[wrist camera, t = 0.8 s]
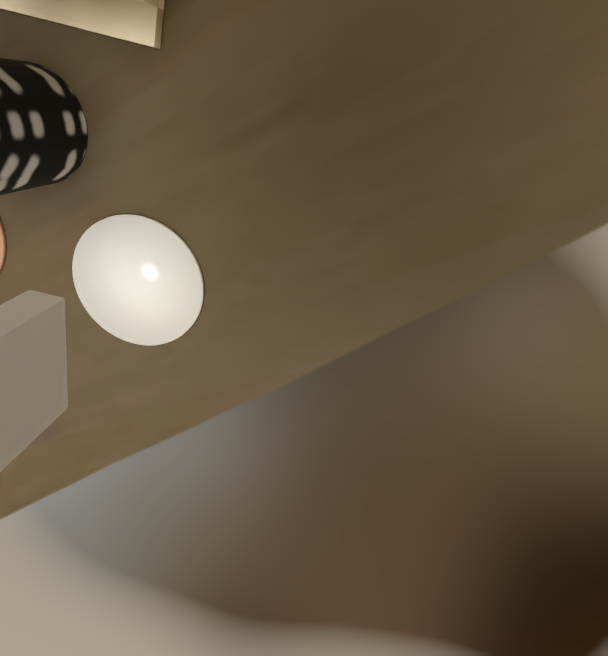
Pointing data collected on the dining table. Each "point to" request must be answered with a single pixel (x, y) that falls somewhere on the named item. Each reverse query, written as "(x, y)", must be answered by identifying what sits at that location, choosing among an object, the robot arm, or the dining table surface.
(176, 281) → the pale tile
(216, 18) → the dining table surface
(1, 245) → the pink round disc
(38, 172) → the spotted tube
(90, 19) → the birch shelf
